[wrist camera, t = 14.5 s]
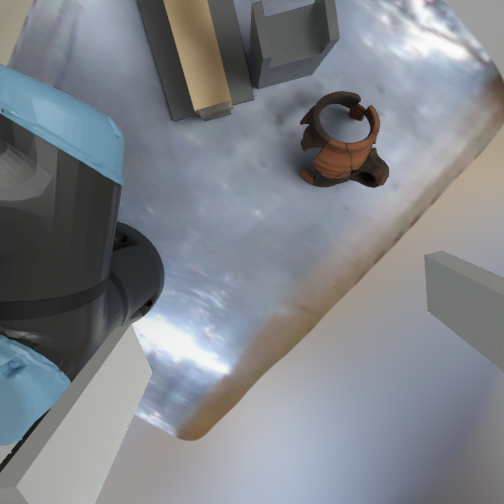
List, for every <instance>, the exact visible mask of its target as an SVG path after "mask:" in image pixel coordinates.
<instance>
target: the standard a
mask: <svg viewBox="0 0 504 504" xmlns="http://www.w3.org/2000/svg"><path fill="white" fill-rule="evenodd" d="M339 38H340V37H339V29H338V22H337V14H336V6H335V0H315V2H314V4H311V5H307V6H304V7H300V8H297V9H293V10H290V11H286V12H283V13H279V14H276V15H272V16H269V17H265V16H264V11H263V6H262V1H259V2H256V3H252V13H251V35H250V54H251V59H252V64H253V68H254V73H255V78H256V83H257V87H258V89H260V88H264V87H268V86H271V85H275V84H279V83H282V82H286V81H290V80H293V79H297V78H301V77H304V76H308V75H312V74H313V73H314V71H315V70H316V69H317V67H318V66H319V65H320V63H321V62H322V61H323V59H324V58H325V57H326V56H327V54H328V53H329V52H330V50H331V49H332V48H333V46H334V45H335V44H336V42H337V41H338V40H339Z"/></svg>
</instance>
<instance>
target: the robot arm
mask: <svg viewBox="0 0 504 504" xmlns="http://www.w3.org/2000/svg"><path fill="white" fill-rule="evenodd" d="M124 148H125V141H124V136H123V133H122V131H121V129H120V128H119V126H118V125H117V124H116V123H115V122H114V121H113V119H111V118H110V117H109V116H107V115H106V114H104V113H103V112H101V111H99V110H98V109H96V108H94V107H92V106H90V105H88V104H86V103H84V102H82V101H80V100H78V99H76V98H74V97H72V96H70V95H68V94H66V93H64V92H62V91H60V90H58V89H56V88H54V87H51V86H49V85H47V84H45V83H43V82H41V81H38V80H36V79H34V78H32V77H29V76H27V75H25V74H23V73H20V72H18V71H16V70H14V69H11V68H9V67H7V66H4V65H2V64H0V446H2V445H8V444H12V443H15V442H17V441H19V442H18V443H17V444H16V446H15V447H14V448H13V449H12V450H11V451H12V452H11V454H8V455H7V457H6V458H5V459H4V460H3V462H2V463H1V464H0V504H95V502H96V500H97V498H98V495H99V493H100V490H101V488H102V486H103V484H104V482H105V479H106V477H107V475H108V473H109V470H110V468H111V466H112V464H113V461H114V459H115V457H116V454H117V452H118V450H119V448H120V445H121V443H122V440H123V439H124V436H125V434H126V432H127V429H128V427H129V425H130V423H131V421H132V418H133V416H134V414H135V411H136V409H137V407H138V405H139V402H140V400H141V398H142V396H143V393H144V391H145V389H146V386H147V384H148V382H149V380H150V377H151V375H152V371H151V369H150V366H149V364H148V362H147V359H146V357H145V355H144V352H143V350H142V348H141V345H140V343H139V341H138V339H137V336H136V334H135V332H134V329H133V327H132V325H131V324H132V323H134V322H136V321H138V320H139V319H141V318H142V317H143V316H145V315H146V314H147V313H148V312H149V311H150V310H151V308H152V307H153V306H154V304H155V303H156V301H157V300H158V298H159V296H160V294H161V292H162V289H163V285H164V268H163V264H162V261H161V258H160V256H159V254H158V252H157V250H156V249H155V247H154V246H153V244H152V243H151V242H150V241H149V240H148V239H147V238H146V237H145V236H144V235H143V234H141V233H140V232H139V231H137V230H136V229H134V228H132V227H130V226H128V225H126V224H123V223H120V222H117V216H118V209H119V202H120V196H121V189H122V186H124V179H123V178H122V174H123V161H124ZM424 257H425V274H426V290H427V304H428V311H429V312H430V313H431V314H432V315H434V316H435V317H436V318H437V319H439V320H440V321H441V322H442V323H444V324H445V325H446V326H448V327H449V328H450V329H451V330H453V331H454V332H455V333H456V334H457V335H459V336H460V337H461V338H462V339H464V340H465V341H466V342H467V343H469V344H470V345H471V346H472V347H474V348H475V349H476V350H477V351H479V352H480V353H481V354H482V355H483V356H485V357H486V358H487V359H488V360H490V361H491V362H492V363H493V364H495V365H496V366H497V367H499V368H500V369H501V370H502V371H503V372H504V278H503V277H501V276H499V275H497V274H494V273H492V272H490V271H487V270H485V269H483V268H481V267H478V266H476V265H474V264H472V263H469V262H467V261H465V260H462V259H460V258H458V257H456V256H453V255H451V254H449V253H447V252H444V251H439V252H435V253H431V254H426V255H424ZM21 439H22V440H21Z"/></svg>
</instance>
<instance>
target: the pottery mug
mask: <svg viewBox="0 0 504 504" xmlns="http://www.w3.org/2000/svg"><path fill="white" fill-rule="evenodd" d="M360 101H361V98H360V96H359V95H358V94H355V93H351V92H345V91H340V92H339V91H338V92H334V93H331V94H328V95H326V96H324V97H323V98H321V99H320V100H319V101H318V102H317V103H316V105H315V106H313V107H312V108H311V109H310V111H309V112H308V113H307V114H306V115H305V116H304V117H303V119H302V120H301V122H300V124H301V125H303V124H309V126H308V127H307V128H306V129H305V131H304V134H303V139H302V140H301V146H302V150H303V151H306V150H308V149H309V148H314V147H323V149H322V150H321V151H320V153H319V154H318V155H317V156H316V158H314V159H313V167H314V168H315V169H316V170H317V171H316V174H315V175H313V174H312V173H310V172H309V171H308V170H307V169H306V168H305V167H302V168H301V172H300V175H301V177H302V178H303V179H304V180H306V181H307V182H309V183H310V184H313V185H315V186H319V187H330V186H334V185H336V184H338V183H343V182H346V181H348V180H352V181H356V182H359V183H361V184H363V185H365V186H367V187H372V188H375V187H378V186H381V185H384V183H385V182H386V180H387V178H388V177H389V167H388V165H387V164H386V162H385V161H383V160H382V159H381V158H380V157H379V156H378V154H377V151H376V148H372V144H375V143H376V137H377V135H378V132H379V128H380V120H379V116H378V113H377V111H376V110H375V108H374V107H373V106H372V105H370V106H369V107H368V108H367V110H366V109H365V108H364V107H363V106H361V105H359V104H358V103H359V102H360ZM330 104H340V105H343V106H346V107H348V108H350V117H351V118H353V119H355V120H358V121H362V120H363V119H364V115H365V117H366V118H367V119H368V121H369V124H370V133H369V135H368V137H366V138H365V139H364V140H362V141H359V142H355V143H345V142H341V141H338V140H336V139H334V138H331V137H330V136H329V135H328V134H327V133H326V132H325V131H324V129H323V128H322V126H321V123H320V118H319V115H320V112H321V110H322V109H323V108H324V107H325V106H327V105H330ZM351 170H352V171H351Z"/></svg>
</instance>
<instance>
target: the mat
mask: <svg viewBox="0 0 504 504" xmlns="http://www.w3.org/2000/svg"><path fill="white" fill-rule="evenodd" d="M137 2H138V5H139V9H140V12H141V15H142V19H143V22H144V25H145V28H146V32H147V35H148V38H149V42H150V45H151V48H152V52H153V55H154V58H155V61H156V65H157V68H158V71H159V75H160V78H161V81H162V84H163V88H164V91H165V94H166V98H167V101H168V104H169V108H170V111H171V114H172V117H173V121H178V120H181V119H185V118H189V117H192V116H196V115H198V114H197V113H196V112H195V110H194V107H193V104H192V100H191V96H190V93H189V89H188V86H187V82H186V79H185V75H184V72H183V68H182V64H181V61H180V57H179V54H178V50H177V47H176V43H175V40H174V36H173V33H172V29H171V25H170V22H169V18H168V15H167V11H166V8H165V4H164V1H163V0H137ZM207 2H208V6H209V10H210V14H211V18H212V23H213V27H214V31H215V35H216V39H217V43H218V47H219V51H220V55H221V60H222V64H223V68H224V72H225V76H226V80H227V84H228V88H229V92H230V97H231V101H232V106H233V105H237V104H241V103H244V102H248V101H252V100H254V95H253V90H252V86H251V81H250V76H249V72H248V67H247V63H246V58H245V54H244V49H243V44H242V40H241V35H240V31H239V26H238V21H237V17H236V12H235V8H234V3H233V0H207Z"/></svg>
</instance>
